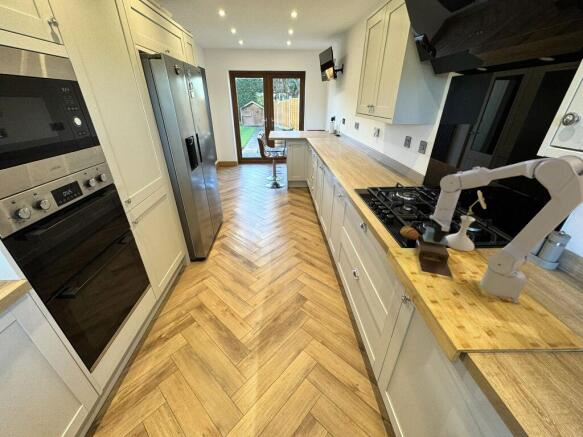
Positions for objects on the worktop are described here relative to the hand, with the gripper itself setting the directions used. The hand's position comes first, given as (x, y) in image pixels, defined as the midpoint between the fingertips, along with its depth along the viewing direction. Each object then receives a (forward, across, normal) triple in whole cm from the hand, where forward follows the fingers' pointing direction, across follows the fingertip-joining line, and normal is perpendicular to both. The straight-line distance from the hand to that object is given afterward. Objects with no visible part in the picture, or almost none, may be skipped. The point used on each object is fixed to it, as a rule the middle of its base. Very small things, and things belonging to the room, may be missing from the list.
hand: (435, 238), depth 91 cm
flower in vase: (+9, -13, +13) cm, 20 cm away
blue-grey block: (+1, 0, 0) cm, 1 cm away
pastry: (+9, -15, -6) cm, 18 cm away
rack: (+8, +4, 0) cm, 9 cm away
